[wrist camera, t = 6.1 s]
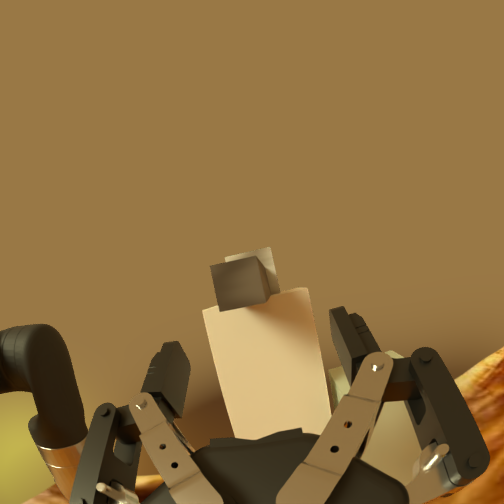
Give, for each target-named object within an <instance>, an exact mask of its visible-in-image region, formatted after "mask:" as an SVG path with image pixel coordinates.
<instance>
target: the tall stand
mask: <svg viewBox="0 0 504 504" xmlns="http://www.w3.org/2000/svg"><path fill="white" fill-rule="evenodd" d="M202 312H203V317H204V321H205V325H206V330H207V334H208V338H209V343H210V347H211V351H212V355H213V359H214V363H215V367H216V371H217V375H218V378H219V382H220V386H221V390H222V393H223V397H224V401H225V404H226V407H227V411H228V414H229V418H230V421H231V425H232V428H233V431H234V434H235V438H240V439H249V440H256V439H260V438H262V437H265V436H268V435H271V434H273V433H276V432H279V431H285V430H290V429H295V428H300V427H302V431H303V433H313V434H318V435H321V434H322V432H323V430H324V429H325V427H326V425H327V423H328V422H329V420H330V418H331V410H330V404H329V397H328V392H327V385H326V379H325V374H324V368H323V362H322V357H321V352H320V347H319V341H318V336H317V331H316V326H315V321H314V316H313V311H312V307H311V302H310V297H309V293H308V288H302V287H298V288H294V289H289V290H285V291H281V292H280V293H278V294H273V295H271V296H270V298H269V299H268V301H267V302H266V303H262V304H258V305H253V306H248V307H243V308H238V309H233V310H228V311H223V312H220V311H219V307H218V305H217V306H214V307H211V308H208V309H205V310H203V311H202Z"/></svg>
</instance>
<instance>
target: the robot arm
mask: <svg viewBox="0 0 504 504" xmlns="http://www.w3.org/2000/svg"><path fill="white" fill-rule="evenodd" d="M329 316H330V325H331V335H332V339H333V343H334V345H335V348H336V350H337V353H338V356H339V358H340V361H341V364H342V367H343V369H344V372H345V375H346V377H347V380H348V383H349V386H350V390H349V392H348V394H347V395H346V394H345V395H343V397H342V398H341V400H340V402H339V404H338V406H337V407H336V409H335V411H334V413H333V415H332V416H331V418H330V420H329V422H328V423H327V425H326V427H325V429H324V430H323V432H322V434H321V435H318V434H313V433H303V431H302V427H300V428H295V429H290V430H285V431H279V432H276V433H273V434H271V435H268V436H265V437H262V438H260V439H256V440H249V439H240V438H216V439H210V445H208V446H205V447H202V448H200V449H199V450H197V451H195V450H194V449H193V448H192V446H191V445H190V444H189V443H188V441H187V440H186V438H185V437H184V436H183V435H182V433H181V431H180V430H179V429H178V427H177V426H176V424H175V423H174V422H173V421H174V418H182V413H183V408H184V402H185V397H186V392H187V386H188V381H189V376H190V363H189V360H188V358H187V356H186V354H185V353H184V351H183V349H182V347H181V345H180V343H179V342H178V341H173V342H166V343H164V344H163V346H162V349H161V352H158V353H157V354H156V355H155V356H154V357H153V359H152V360H151V363H150V366H149V367H150V368H149V369H148V372H147V373H148V374H147V375H146V378H145V380H144V383H143V387H142V389H141V393H139V394H137V395H135V396H134V397H133V398H132V399H131V400H130V402H129V405H126V406H122V407H119V408H116V407H115V406H114V405H113V404H111V403H104V404H102V405H100V406H99V407H98V408H97V409H96V411H95V413H94V416H93V419H92V422H91V425H90V428H89V431H88V429H87V426H86V424H85V418H84V408H83V404H82V401H81V397H80V394H79V390H78V386H77V383H76V379H75V375H74V370H73V366H72V362H71V359H70V355H69V352H68V349H67V346H66V344H65V342H64V340H63V338H62V337H61V335H60V334H59V332H58V331H57V330H56V329H55V328H53V327H52V326H50V325H47V324H33V325H25V326H16V327H12V328H9V329H6V330H3V331H0V394H2V393H8V392H13V391H25V392H32V394H33V397H34V401H35V404H36V408H37V411H38V414H37V415H35V416H34V417H32V418H31V419H30V421H29V423H28V428H29V431H30V433H31V435H32V438H33V440H34V442H35V444H36V446H37V448H38V450H39V452H40V454H41V456H42V457H43V460H44V461H45V463H46V465H47V466H48V468H49V470H50V472H51V474H52V475H53V477H54V481H55V483H56V484H57V486H58V487H59V489H60V490H61V492H62V493H63V495H64V496H65V498H66V499H67V501H68V502H69V504H426V503H428V502H430V501H433V500H435V499H437V498H439V497H448V496H450V495H452V494H454V493H456V492H458V491H460V490H461V489H463V488H464V487H466V486H467V485H469V484H470V483H472V482H473V481H474V480H475V479H476V478H478V477H479V476H480V475H481V474H483V473H484V472H485V470H486V469H487V467H488V465H489V461H490V454H489V451H488V449H487V447H486V444H485V442H484V440H483V437H482V435H481V433H480V431H479V428H478V426H477V424H476V422H475V420H474V418H473V416H472V414H471V412H470V410H469V408H468V406H467V404H466V402H465V400H464V398H463V396H462V394H461V392H460V391H459V389H458V387H457V385H456V383H455V382H454V380H453V378H452V376H451V374H450V373H449V371H448V370H447V368H446V366H445V364H444V362H443V361H442V359H441V357H440V356H439V354H438V353H437V352H436V351H435V350H434V349H432V348H428V347H422V348H419V349H417V350H415V351H414V352H413V354H412V355H411V357H408V358H391V356H390V355H388V354H386V353H384V352H381V350H380V348H379V346H378V344H377V343H376V341H375V339H374V337H373V336H372V334H371V332H370V331H369V328H368V327H367V326H366V323H365V322H364V320H363V318H362V317H361V316H359V315H358V314H356V313H353V314H349V315H348V313H347V312H346V310H345V308H344V307H343V306H341V307H337V308H334V309H330V310H329ZM394 401H404V404H405V406H406V409H407V412H408V414H409V417H410V419H411V422H412V425H413V428H414V430H415V433H416V436H417V439H418V442H419V445H420V448H421V451H422V452H421V454H420V455H419V456H418V458H417V459H416V460H415V462H414V464H413V468H412V470H413V477H412V480H411V482H410V483H409V484H407V485H405V486H404V485H403V484H402V483H401V482H400V481H398V480H397V479H395V478H393V477H391V476H389V475H387V474H386V473H384V472H382V471H380V470H378V469H377V468H375V467H373V466H372V465H370V464H368V463H366V462H365V461H363V460H361V458H362V456H363V454H364V452H365V450H366V448H367V446H368V444H369V441H370V439H371V436H372V433H373V431H374V429H375V426H376V424H377V422H378V419H379V417H380V414H381V412H382V409H383V407H384V404H385V402H394ZM115 439H116V440H117V441H116V445H115V449H114V453H113V446H114V442H115ZM142 443H143V445H144V447H145V449H146V450H147V452H148V454H149V456H150V458H151V459H152V461H153V463H154V465H155V466H156V468H157V470H158V471H159V473H160V475H161V477H162V478H163V480H164V482H163V483H162V484H161V485H160V486H159V487H158V488H157V489H156V490H155V491H154V492H153V493H151V494H150V495H149V496H148V497H147V498H146V499H145V500H144V501H143V502H141V503H140V502H139V500H138V496H137V495H136V493H135V492H134V490H135V483H136V476H137V469H138V464H139V457H140V452H141V446H142Z"/></svg>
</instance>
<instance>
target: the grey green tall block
mask: <svg viewBox="0 0 504 504" xmlns="http://www.w3.org/2000/svg"><path fill="white" fill-rule="evenodd" d="M385 353H386V354H388V355H390V356H391V358H404V357H402V356H401V355H399V354H397V353H395V352H394V351H392V350H391V351H388V352H385ZM328 372H329V378H330V384H331V390H332V396H333V403H334V409H336V407H337V406H338V404H339V402H340V400H341V398H342V397H343V395H345V394H346V395H347V394H348V392H349V390H350V386H349V383H348V380H347V377H346V375H345V372H344V369H343V367H342V366H341V367H337V368H333V369H330V370H328ZM421 452H422V451H421V448H420V445H419V442H418V439H417V436H416V433H415V430H414V428H413V425H412V422H411V419H410V417H409V414H408V412H407V409H406V406H405V404H404V401H394V402H385V404H384V407H383V409H382V412H381V414H380V417H379V419H378V422H377V424H376V426H375V429H374V431H373V433H372V436H371V439H370V441H369V444H368V446H367V448H366V450H365V452H364V454H363V456H362V458H361V460H363V461H365V462H366V463H368V464H370V465H372V466H373V467H375V468H377V469H378V470H380V471H382V472H384V473H386V474H387V475H389V476H391V477H393V478H395V479H397V480H398V481H400V482H401V483H402V484H403V485H404V486H405V485H407V484H409V483H410V482H411V480H412V477H413V470H412V468H413V464H414V462H415V460H416V459H417V458H418V456H419V455H420V454H421Z"/></svg>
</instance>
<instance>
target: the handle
mask: <svg viewBox="0 0 504 504" xmlns="http://www.w3.org/2000/svg"><path fill="white" fill-rule="evenodd" d="M225 261H226V262H225V263H220V264H216V265H212V266H210V268H211V273H212V278H213V283H214V288H215V293H216V298H217V302H218V307H219V311H220V312H223V311H228V310H233V309H238V308H243V307H248V306H253V305H258V304H262V303H266V302H267V301H268V299H269V298H270V296H271V295H273V294H278V293H280V289H279V284H278V279H277V275H276V271H275V266H274V262H273V257H272V253H271V249H270V247H268V248H263V249H260V250H255V251H250V252H246V253H241V254H237V255H233V256H229V257H225Z"/></svg>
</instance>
